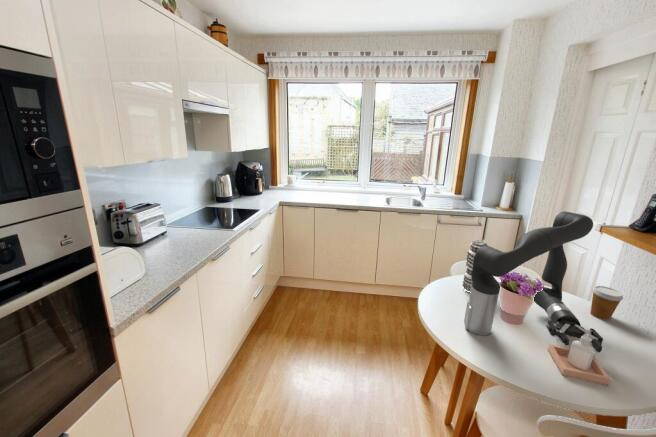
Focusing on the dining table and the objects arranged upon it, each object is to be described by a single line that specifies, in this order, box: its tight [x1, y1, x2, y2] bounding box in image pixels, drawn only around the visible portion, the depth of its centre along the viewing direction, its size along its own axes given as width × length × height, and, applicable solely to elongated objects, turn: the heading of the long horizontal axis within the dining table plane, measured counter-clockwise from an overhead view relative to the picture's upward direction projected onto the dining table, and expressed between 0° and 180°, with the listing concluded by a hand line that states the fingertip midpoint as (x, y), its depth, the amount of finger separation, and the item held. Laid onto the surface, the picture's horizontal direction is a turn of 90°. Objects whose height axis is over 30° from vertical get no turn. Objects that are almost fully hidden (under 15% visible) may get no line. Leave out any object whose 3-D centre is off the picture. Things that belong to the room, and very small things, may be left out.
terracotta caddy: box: [547, 343, 611, 386], centre depth 97 cm, size 12×12×2 cm
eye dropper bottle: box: [567, 334, 596, 371], centre depth 95 cm, size 4×6×12 cm
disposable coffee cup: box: [590, 285, 624, 321], centre depth 124 cm, size 10×10×12 cm
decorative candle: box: [462, 240, 489, 292], centre depth 140 cm, size 9×9×25 cm
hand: (583, 346), depth 94 cm, fingers open, 8 cm apart
